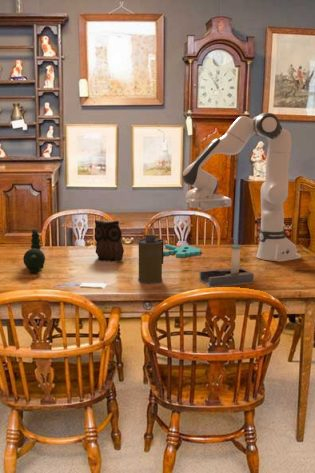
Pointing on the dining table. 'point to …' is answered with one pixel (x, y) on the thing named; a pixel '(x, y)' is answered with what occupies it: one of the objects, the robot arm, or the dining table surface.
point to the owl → (108, 241)
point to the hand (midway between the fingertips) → (217, 205)
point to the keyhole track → (225, 277)
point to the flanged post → (235, 258)
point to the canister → (150, 259)
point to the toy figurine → (34, 254)
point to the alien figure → (182, 251)
